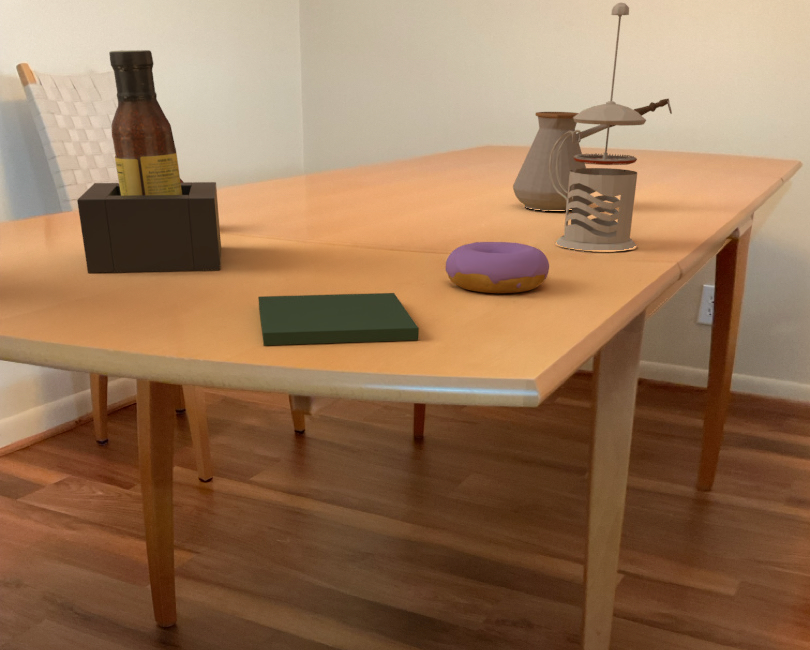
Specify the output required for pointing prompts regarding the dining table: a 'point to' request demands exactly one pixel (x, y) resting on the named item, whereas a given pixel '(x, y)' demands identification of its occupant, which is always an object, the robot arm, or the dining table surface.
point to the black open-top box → (150, 229)
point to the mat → (335, 319)
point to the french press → (600, 180)
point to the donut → (497, 267)
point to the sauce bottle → (141, 130)
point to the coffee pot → (534, 172)
